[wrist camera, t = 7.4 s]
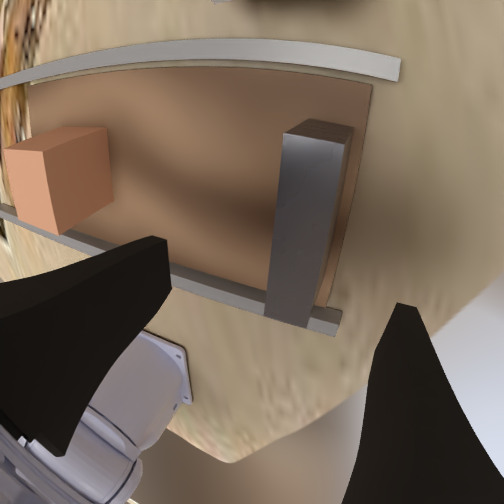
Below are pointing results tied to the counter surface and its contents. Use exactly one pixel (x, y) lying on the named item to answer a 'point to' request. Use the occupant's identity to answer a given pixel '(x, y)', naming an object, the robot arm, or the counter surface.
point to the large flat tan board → (225, 169)
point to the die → (219, 1)
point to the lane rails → (209, 49)
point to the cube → (60, 177)
